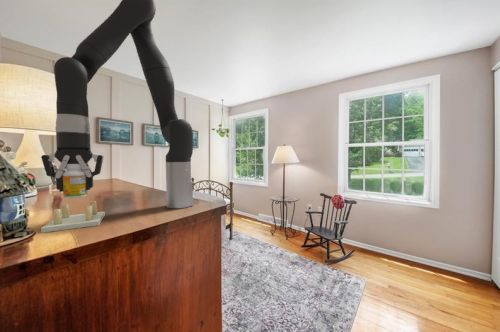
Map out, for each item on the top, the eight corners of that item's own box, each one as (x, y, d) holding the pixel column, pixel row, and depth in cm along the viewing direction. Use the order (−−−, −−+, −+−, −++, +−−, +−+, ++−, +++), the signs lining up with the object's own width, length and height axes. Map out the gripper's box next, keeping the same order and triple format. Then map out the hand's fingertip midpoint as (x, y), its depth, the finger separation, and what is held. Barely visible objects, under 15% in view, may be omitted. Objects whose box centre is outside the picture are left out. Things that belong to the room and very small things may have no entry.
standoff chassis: (104, 215, 69) (104, 199, 69) (98, 225, 59) (98, 206, 59) (57, 220, 64) (56, 203, 64) (41, 232, 53) (40, 212, 53)
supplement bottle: (63, 196, 61) (62, 163, 61) (86, 194, 65) (86, 163, 64) (63, 199, 57) (62, 164, 57) (88, 197, 61) (87, 163, 60)
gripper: (105, 134, 67) (107, 187, 68) (45, 132, 60) (47, 190, 61) (102, 132, 60) (103, 190, 61) (33, 128, 54) (36, 194, 54)
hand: (75, 190), depth 61 cm, fingers closed on supplement bottle, 5 cm apart
